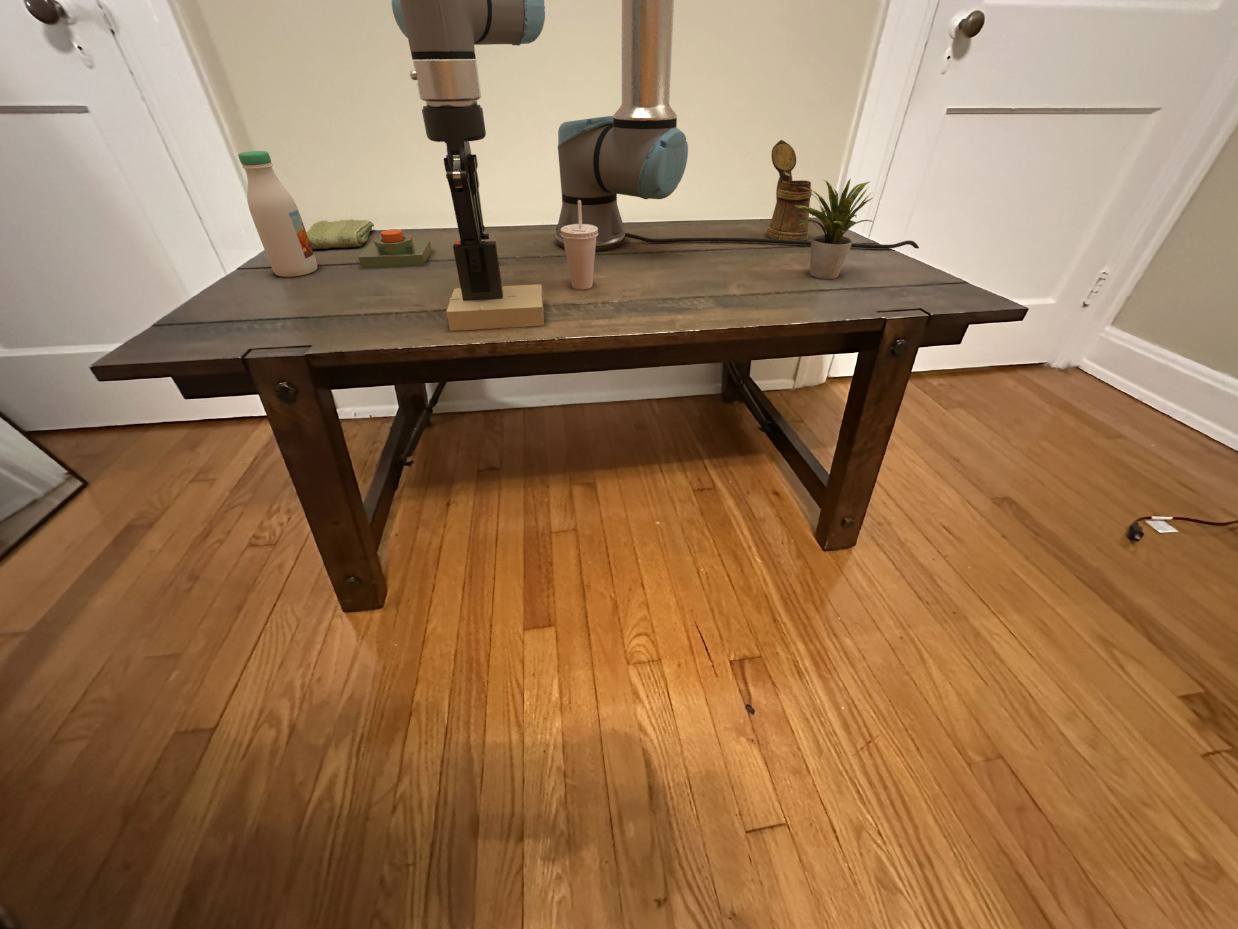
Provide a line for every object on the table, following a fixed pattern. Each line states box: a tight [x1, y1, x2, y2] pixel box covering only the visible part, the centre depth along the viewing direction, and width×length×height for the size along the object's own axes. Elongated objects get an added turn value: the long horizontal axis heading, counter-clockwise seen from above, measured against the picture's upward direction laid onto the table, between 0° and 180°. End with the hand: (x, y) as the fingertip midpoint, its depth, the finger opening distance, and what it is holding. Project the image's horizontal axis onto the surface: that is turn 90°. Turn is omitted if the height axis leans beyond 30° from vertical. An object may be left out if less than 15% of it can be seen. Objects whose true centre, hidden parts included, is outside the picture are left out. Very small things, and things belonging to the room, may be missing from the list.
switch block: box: [358, 234, 433, 269], centre depth 107 cm, size 12×10×4 cm
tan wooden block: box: [445, 283, 545, 332], centre depth 83 cm, size 14×10×3 cm
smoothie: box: [561, 200, 598, 290], centre depth 91 cm, size 6×6×14 cm
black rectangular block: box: [452, 240, 503, 300], centre depth 80 cm, size 6×2×8 cm, turn 97°
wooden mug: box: [766, 139, 813, 241], centre depth 116 cm, size 9×14×18 cm, turn 17°
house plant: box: [794, 178, 875, 280], centre depth 95 cm, size 14×14×16 cm
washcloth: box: [306, 219, 375, 251], centre depth 119 cm, size 13×18×3 cm
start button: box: [380, 228, 404, 242], centre depth 105 cm, size 4×4×2 cm
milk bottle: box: [237, 150, 318, 278], centre depth 96 cm, size 8×8×20 cm
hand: (481, 288), depth 81 cm, fingers closed on black rectangular block, 2 cm apart
